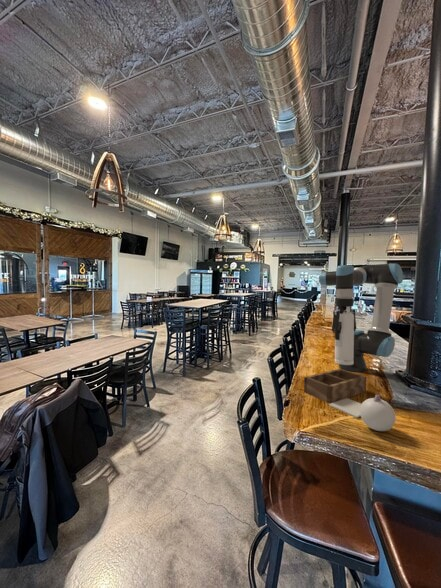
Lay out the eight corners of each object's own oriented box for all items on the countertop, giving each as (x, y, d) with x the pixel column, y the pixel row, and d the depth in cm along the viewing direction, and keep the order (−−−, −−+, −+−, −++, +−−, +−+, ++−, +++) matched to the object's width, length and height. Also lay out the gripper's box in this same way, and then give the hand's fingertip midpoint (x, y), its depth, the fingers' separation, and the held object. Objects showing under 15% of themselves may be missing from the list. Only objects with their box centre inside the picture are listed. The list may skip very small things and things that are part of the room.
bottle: (332, 362, 125) (332, 304, 124) (338, 359, 131) (338, 303, 130) (350, 366, 120) (351, 305, 119) (355, 362, 126) (356, 304, 125)
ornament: (381, 440, 83) (382, 403, 83) (353, 424, 93) (354, 391, 92) (401, 433, 87) (402, 397, 87) (373, 419, 97) (373, 387, 97)
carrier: (339, 382, 135) (339, 368, 135) (366, 391, 123) (366, 376, 123) (304, 392, 122) (304, 377, 122) (330, 403, 110) (330, 387, 110)
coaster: (346, 399, 114) (346, 398, 114) (374, 410, 104) (374, 409, 104) (328, 405, 108) (328, 404, 108) (356, 418, 98) (356, 416, 98)
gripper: (350, 297, 133) (350, 341, 134) (323, 298, 122) (323, 346, 123) (365, 297, 126) (364, 344, 127) (337, 298, 116) (337, 349, 117)
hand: (344, 345), depth 125 cm, fingers closed on bottle, 8 cm apart
